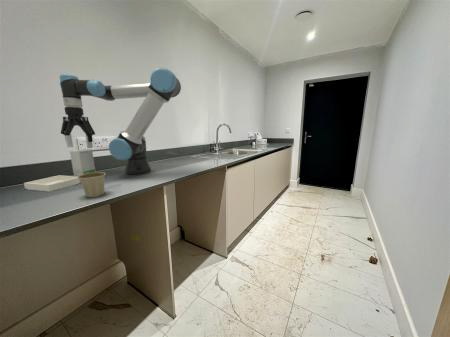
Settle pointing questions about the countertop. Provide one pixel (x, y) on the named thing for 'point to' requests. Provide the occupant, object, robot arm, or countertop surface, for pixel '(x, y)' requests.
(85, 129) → the robot arm
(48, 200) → the countertop surface
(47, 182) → the tray
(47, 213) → the countertop surface
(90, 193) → the flower pot
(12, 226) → the countertop surface
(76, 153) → the skincare box
